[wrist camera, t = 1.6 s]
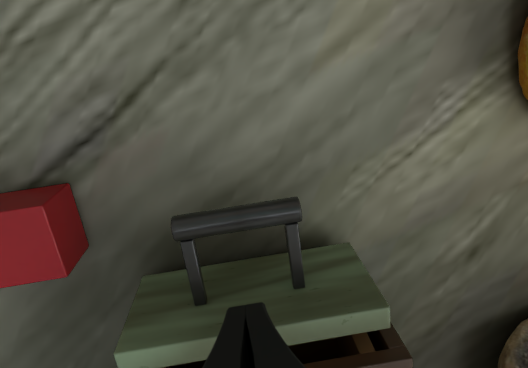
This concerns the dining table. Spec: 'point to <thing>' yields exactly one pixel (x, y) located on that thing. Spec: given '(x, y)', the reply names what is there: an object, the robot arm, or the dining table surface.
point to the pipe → (516, 348)
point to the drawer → (253, 294)
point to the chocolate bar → (39, 235)
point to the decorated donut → (523, 60)
